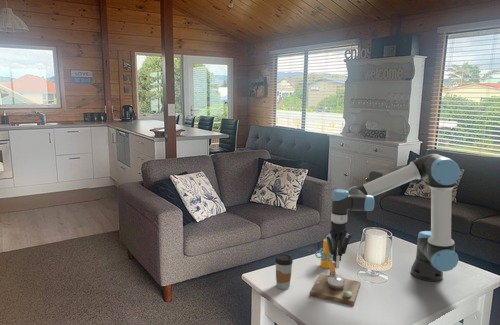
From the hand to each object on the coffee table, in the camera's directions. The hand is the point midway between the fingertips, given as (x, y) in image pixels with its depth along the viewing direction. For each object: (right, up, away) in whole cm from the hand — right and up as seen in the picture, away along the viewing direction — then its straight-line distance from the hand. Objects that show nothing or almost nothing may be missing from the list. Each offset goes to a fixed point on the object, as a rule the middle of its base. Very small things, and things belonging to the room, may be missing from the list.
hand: (336, 267), depth 191 cm
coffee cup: (-27, -8, -4) cm, 28 cm away
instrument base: (-2, -9, -7) cm, 12 cm away
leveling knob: (-2, -6, -5) cm, 8 cm away
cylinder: (-2, -5, +19) cm, 20 cm away
